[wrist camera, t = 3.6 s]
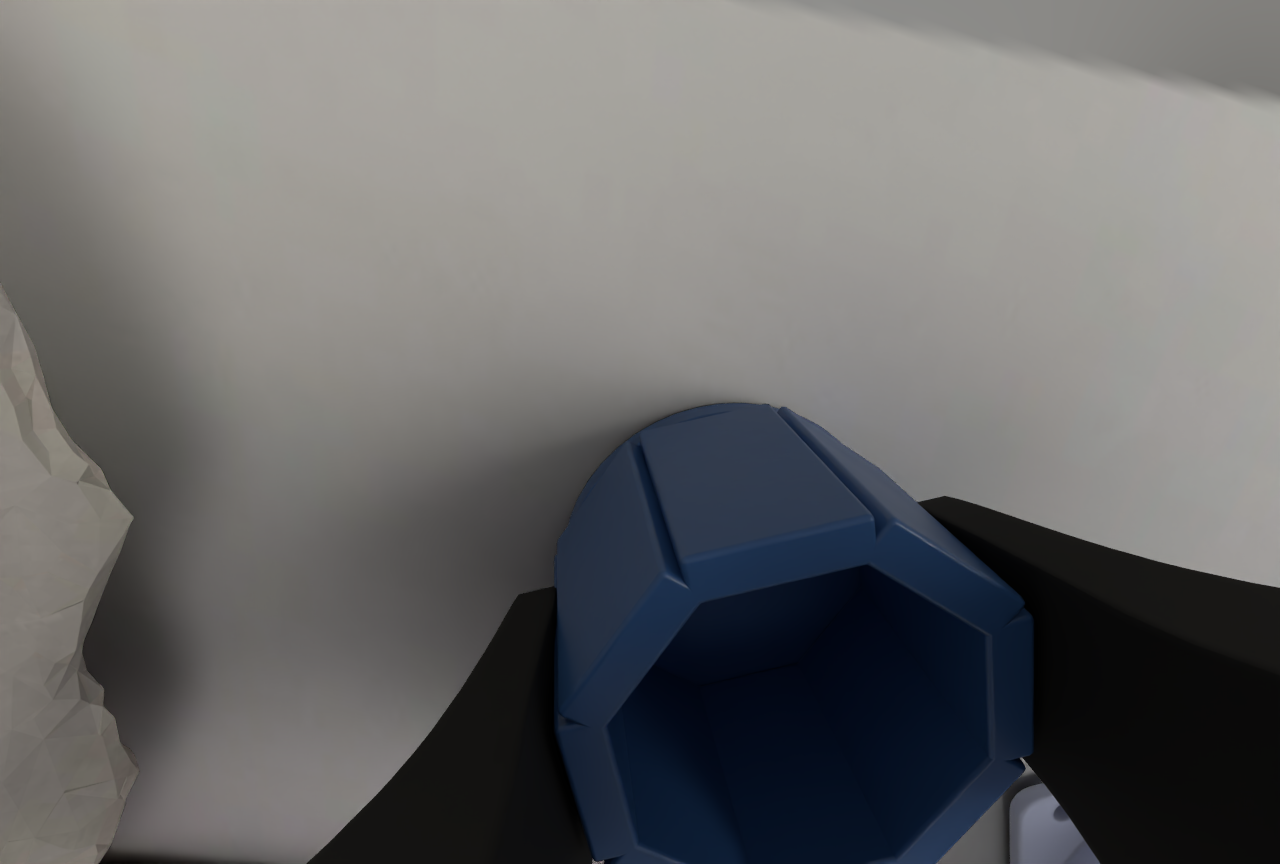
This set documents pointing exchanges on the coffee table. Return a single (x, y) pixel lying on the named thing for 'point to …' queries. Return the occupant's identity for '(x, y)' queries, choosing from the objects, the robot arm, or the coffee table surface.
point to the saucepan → (778, 654)
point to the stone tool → (52, 627)
